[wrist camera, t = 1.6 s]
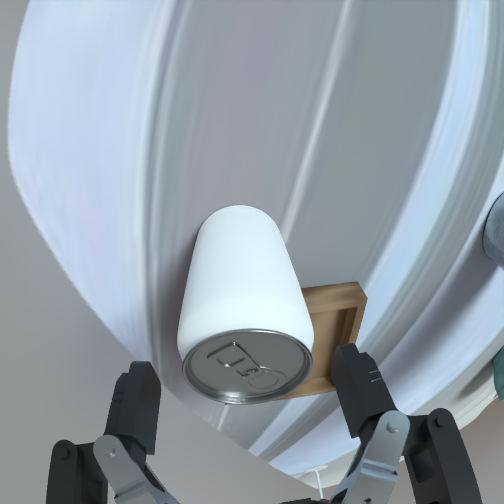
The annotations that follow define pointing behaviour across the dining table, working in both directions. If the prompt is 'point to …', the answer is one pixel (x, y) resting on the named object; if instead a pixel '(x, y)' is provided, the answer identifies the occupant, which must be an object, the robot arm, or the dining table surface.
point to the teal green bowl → (499, 374)
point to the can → (243, 312)
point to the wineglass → (318, 479)
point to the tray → (330, 330)
